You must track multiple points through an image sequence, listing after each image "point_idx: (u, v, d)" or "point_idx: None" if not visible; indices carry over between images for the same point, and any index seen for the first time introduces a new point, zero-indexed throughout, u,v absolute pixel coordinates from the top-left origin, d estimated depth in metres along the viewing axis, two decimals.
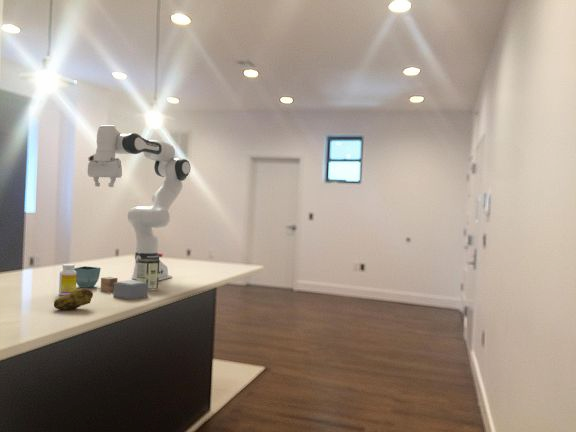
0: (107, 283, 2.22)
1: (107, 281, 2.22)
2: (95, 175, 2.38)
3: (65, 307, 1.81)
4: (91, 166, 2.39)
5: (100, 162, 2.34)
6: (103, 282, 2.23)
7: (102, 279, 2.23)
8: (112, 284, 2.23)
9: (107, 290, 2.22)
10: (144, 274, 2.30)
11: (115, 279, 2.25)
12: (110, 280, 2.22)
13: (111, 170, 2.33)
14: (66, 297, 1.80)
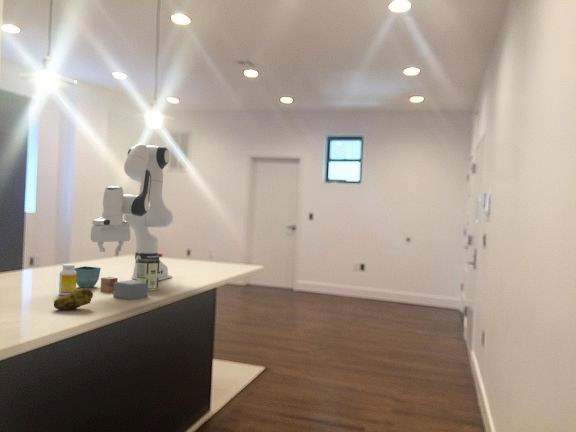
0: (107, 283, 2.22)
1: (107, 281, 2.22)
2: (106, 240, 2.20)
3: (65, 307, 1.81)
4: (101, 231, 2.17)
5: (117, 227, 2.23)
6: (103, 282, 2.23)
7: (102, 279, 2.23)
8: (112, 284, 2.23)
9: (107, 290, 2.22)
10: (144, 274, 2.30)
11: (115, 279, 2.25)
12: (110, 280, 2.22)
13: (125, 234, 2.29)
14: (66, 297, 1.80)
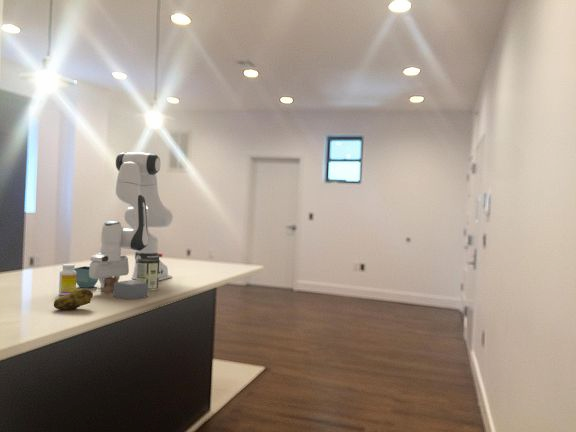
0: (107, 283, 2.22)
1: (107, 281, 2.22)
2: (104, 276, 2.20)
3: (65, 307, 1.81)
4: (99, 267, 2.17)
5: (115, 262, 2.23)
6: None
7: None
8: (112, 284, 2.23)
9: (107, 290, 2.22)
10: (144, 274, 2.30)
11: (115, 279, 2.25)
12: (110, 280, 2.22)
13: (123, 268, 2.29)
14: (66, 297, 1.80)
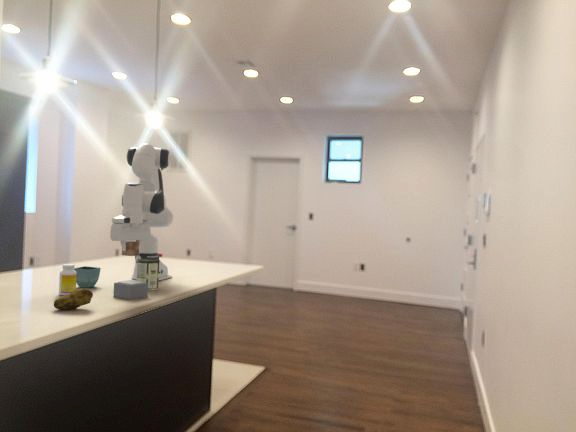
0: (129, 246, 2.11)
1: (129, 244, 2.11)
2: (126, 239, 2.09)
3: (65, 307, 1.81)
4: (121, 229, 2.06)
5: (137, 225, 2.13)
6: None
7: None
8: (134, 248, 2.12)
9: (129, 254, 2.11)
10: (144, 274, 2.30)
11: (137, 243, 2.14)
12: (132, 243, 2.11)
13: (145, 233, 2.19)
14: (66, 297, 1.80)
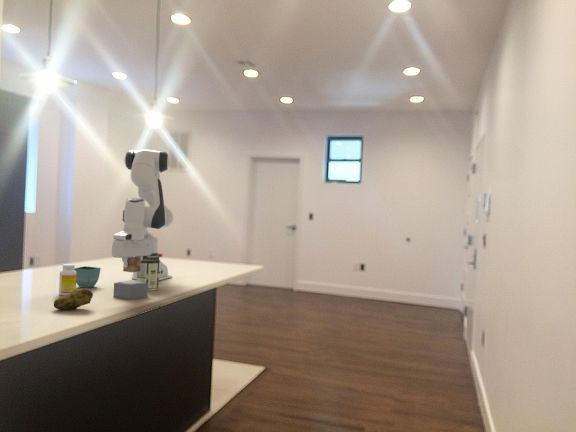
0: (130, 263, 2.11)
1: (130, 260, 2.11)
2: (127, 255, 2.09)
3: (65, 307, 1.81)
4: (122, 246, 2.06)
5: (139, 241, 2.12)
6: None
7: None
8: (135, 264, 2.12)
9: (130, 270, 2.11)
10: (144, 274, 2.30)
11: (138, 259, 2.14)
12: (133, 259, 2.11)
13: (146, 248, 2.18)
14: (66, 297, 1.80)
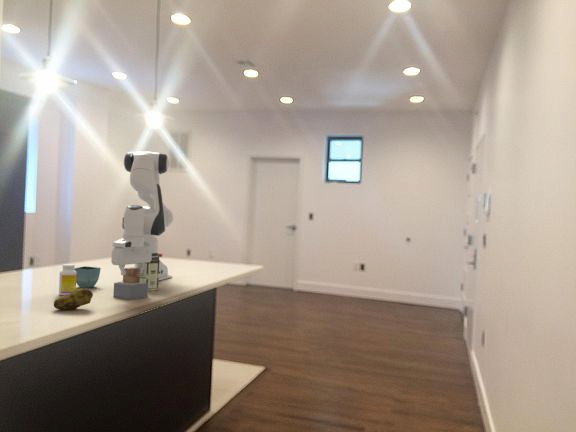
0: (130, 274, 2.11)
1: (130, 271, 2.11)
2: (127, 263, 2.09)
3: (65, 307, 1.81)
4: (122, 253, 2.06)
5: (138, 248, 2.12)
6: None
7: None
8: (135, 275, 2.12)
9: (130, 281, 2.11)
10: (144, 274, 2.30)
11: (138, 269, 2.14)
12: (133, 270, 2.11)
13: (146, 255, 2.19)
14: (66, 297, 1.80)
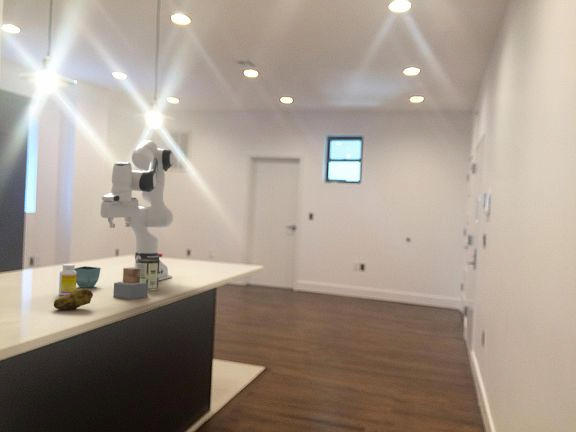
0: (130, 274, 2.11)
1: (130, 271, 2.11)
2: (115, 216, 2.21)
3: (65, 307, 1.81)
4: (110, 207, 2.18)
5: (126, 202, 2.24)
6: (125, 273, 2.12)
7: (124, 269, 2.12)
8: (135, 275, 2.12)
9: (130, 281, 2.11)
10: (144, 274, 2.30)
11: (138, 269, 2.14)
12: (133, 270, 2.11)
13: (134, 210, 2.30)
14: (66, 297, 1.80)
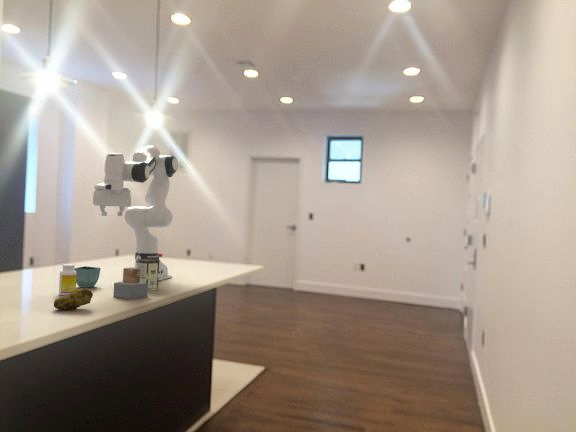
0: (130, 274, 2.11)
1: (130, 271, 2.11)
2: (107, 204, 2.28)
3: (65, 307, 1.81)
4: (102, 195, 2.25)
5: (118, 192, 2.31)
6: (125, 273, 2.12)
7: (124, 269, 2.12)
8: (135, 275, 2.12)
9: (130, 281, 2.11)
10: (144, 274, 2.30)
11: (138, 269, 2.14)
12: (133, 270, 2.11)
13: (126, 200, 2.37)
14: (66, 297, 1.80)
